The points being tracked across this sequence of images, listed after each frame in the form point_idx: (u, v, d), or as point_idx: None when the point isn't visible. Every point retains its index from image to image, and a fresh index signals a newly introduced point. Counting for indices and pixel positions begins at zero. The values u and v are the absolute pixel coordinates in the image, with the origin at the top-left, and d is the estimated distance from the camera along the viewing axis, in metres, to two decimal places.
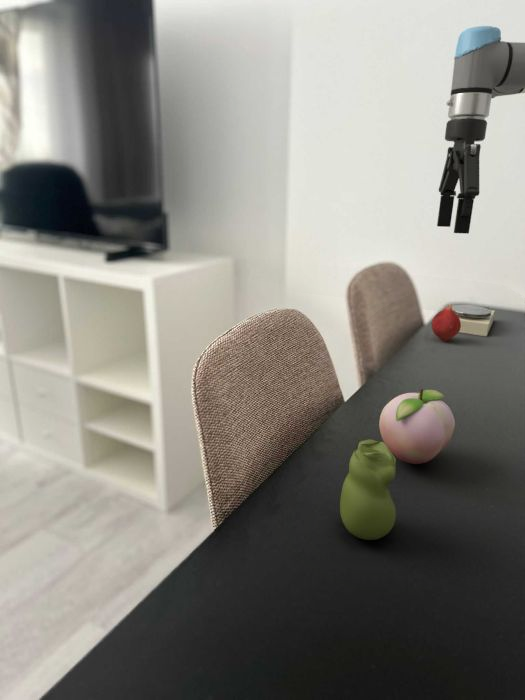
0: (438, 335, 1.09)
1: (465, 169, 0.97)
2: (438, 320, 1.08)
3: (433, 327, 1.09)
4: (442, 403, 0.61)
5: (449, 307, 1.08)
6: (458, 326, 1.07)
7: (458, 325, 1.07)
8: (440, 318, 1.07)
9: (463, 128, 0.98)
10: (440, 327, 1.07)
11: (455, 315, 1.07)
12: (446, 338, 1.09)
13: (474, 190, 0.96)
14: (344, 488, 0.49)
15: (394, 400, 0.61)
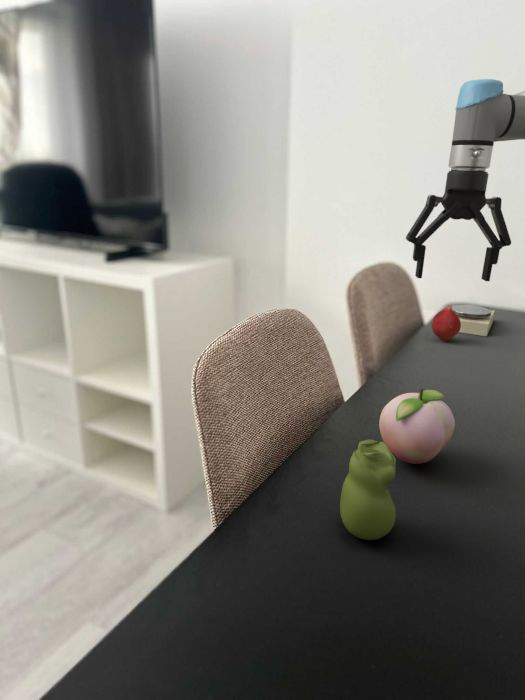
0: (438, 335, 1.09)
1: (502, 221, 1.01)
2: (438, 320, 1.08)
3: (433, 327, 1.09)
4: (442, 403, 0.61)
5: (449, 307, 1.08)
6: (458, 326, 1.07)
7: (458, 325, 1.07)
8: (440, 318, 1.07)
9: None
10: (440, 327, 1.07)
11: (455, 315, 1.07)
12: (446, 338, 1.09)
13: None
14: (344, 488, 0.49)
15: (394, 400, 0.61)
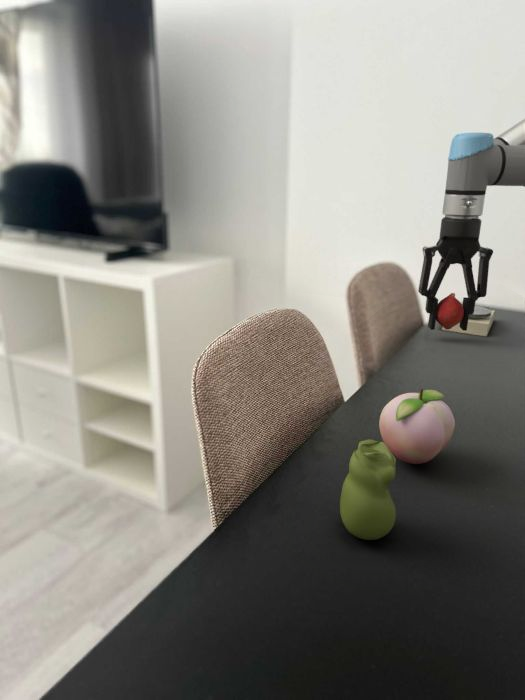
0: (441, 323, 1.08)
1: (485, 272, 1.04)
2: (441, 308, 1.07)
3: (436, 315, 1.08)
4: (442, 403, 0.61)
5: (452, 294, 1.07)
6: (461, 313, 1.06)
7: (461, 312, 1.06)
8: (443, 305, 1.07)
9: (480, 227, 1.01)
10: (443, 314, 1.07)
11: (458, 302, 1.06)
12: (449, 326, 1.08)
13: None
14: (344, 488, 0.49)
15: (394, 400, 0.61)
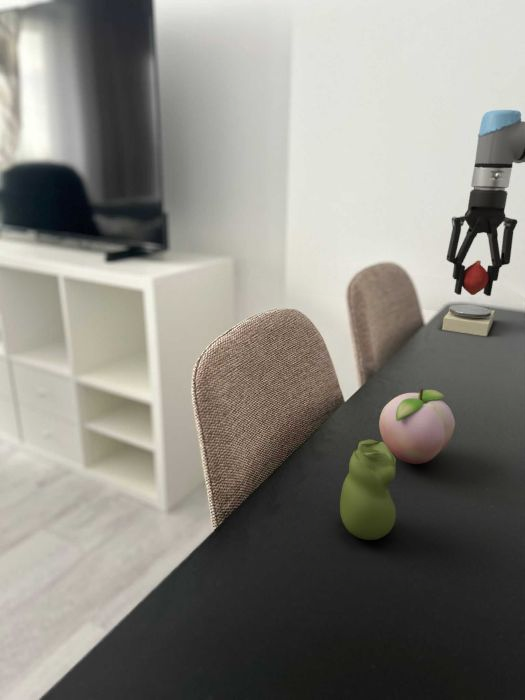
0: (467, 288, 1.17)
1: (509, 241, 1.13)
2: (468, 274, 1.16)
3: None
4: (442, 403, 0.61)
5: (478, 262, 1.16)
6: (486, 279, 1.15)
7: (486, 278, 1.15)
8: (470, 272, 1.15)
9: None
10: (469, 280, 1.15)
11: (483, 269, 1.15)
12: (475, 291, 1.17)
13: None
14: (344, 488, 0.49)
15: (394, 400, 0.61)
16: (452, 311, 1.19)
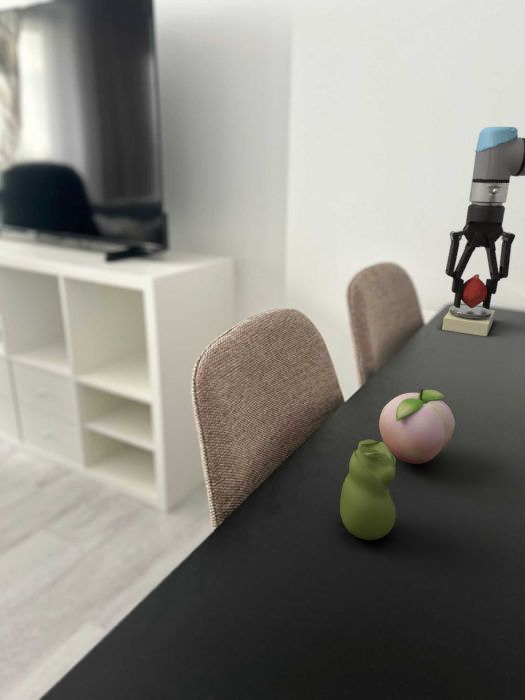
0: (466, 302, 1.18)
1: (507, 255, 1.14)
2: (466, 288, 1.17)
3: None
4: (442, 403, 0.61)
5: (476, 275, 1.17)
6: (485, 293, 1.16)
7: (485, 292, 1.16)
8: (468, 285, 1.16)
9: None
10: (468, 294, 1.16)
11: (482, 283, 1.16)
12: (473, 304, 1.18)
13: None
14: (344, 488, 0.49)
15: (394, 400, 0.61)
16: (452, 312, 1.19)
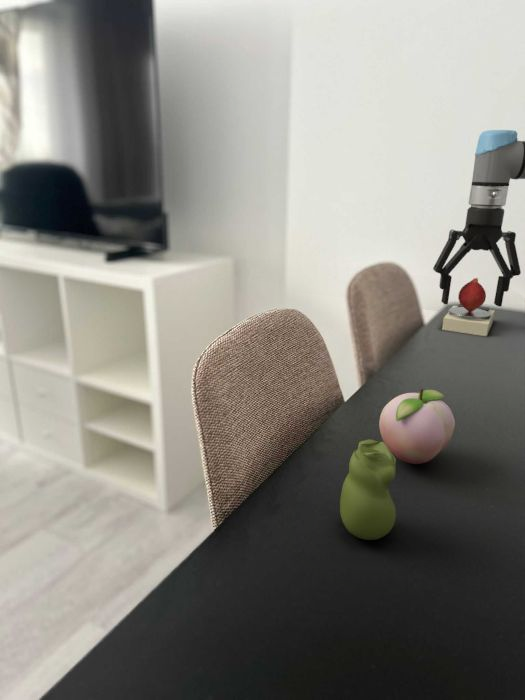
0: (465, 305, 1.18)
1: (514, 253, 1.14)
2: (465, 291, 1.17)
3: (460, 298, 1.18)
4: (442, 403, 0.61)
5: (475, 279, 1.17)
6: (484, 297, 1.16)
7: (484, 296, 1.16)
8: (467, 289, 1.17)
9: (503, 216, 1.11)
10: (466, 297, 1.17)
11: (481, 287, 1.17)
12: (472, 308, 1.18)
13: None
14: (344, 488, 0.49)
15: (394, 400, 0.61)
16: (452, 314, 1.19)
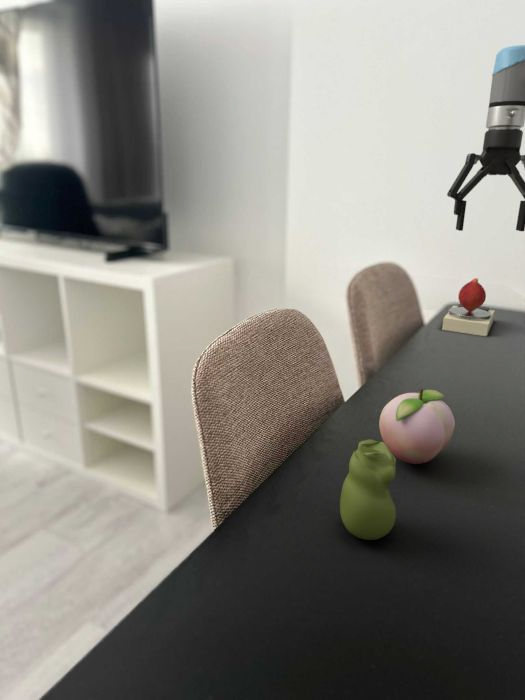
0: (465, 305, 1.18)
1: None
2: (465, 291, 1.17)
3: (460, 298, 1.18)
4: (442, 403, 0.61)
5: (475, 279, 1.17)
6: (484, 297, 1.16)
7: (484, 296, 1.16)
8: (467, 289, 1.17)
9: (521, 138, 1.09)
10: (466, 297, 1.17)
11: (481, 287, 1.17)
12: (472, 308, 1.18)
13: None
14: (344, 488, 0.49)
15: (394, 400, 0.61)
16: (452, 314, 1.19)
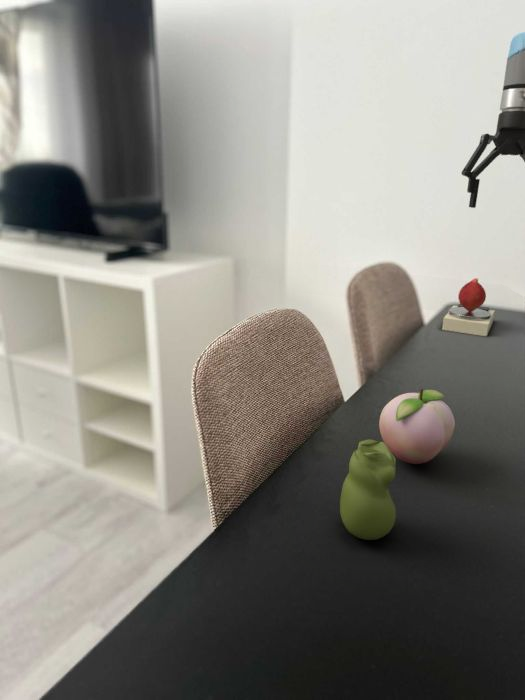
0: (465, 305, 1.18)
1: None
2: (465, 291, 1.17)
3: (460, 298, 1.18)
4: (442, 403, 0.61)
5: (475, 279, 1.17)
6: (484, 297, 1.16)
7: (484, 296, 1.16)
8: (467, 289, 1.17)
9: None
10: (466, 297, 1.17)
11: (481, 287, 1.17)
12: (472, 308, 1.18)
13: None
14: (344, 488, 0.49)
15: (394, 400, 0.61)
16: (452, 314, 1.19)
